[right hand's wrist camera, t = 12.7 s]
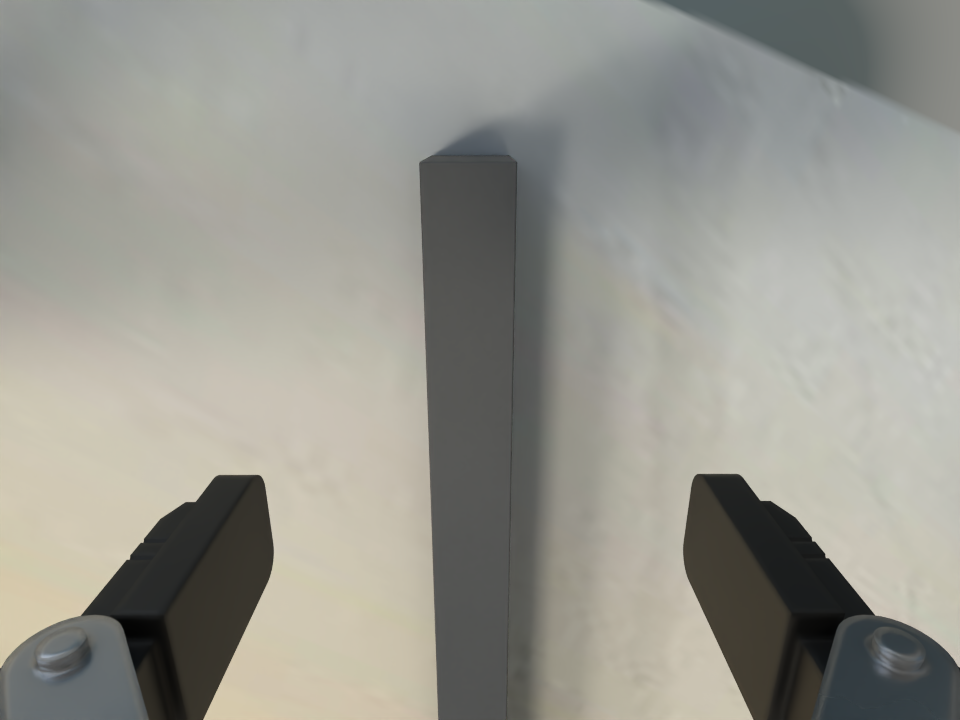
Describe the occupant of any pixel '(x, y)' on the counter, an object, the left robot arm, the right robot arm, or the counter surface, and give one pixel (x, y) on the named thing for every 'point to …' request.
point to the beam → (470, 421)
